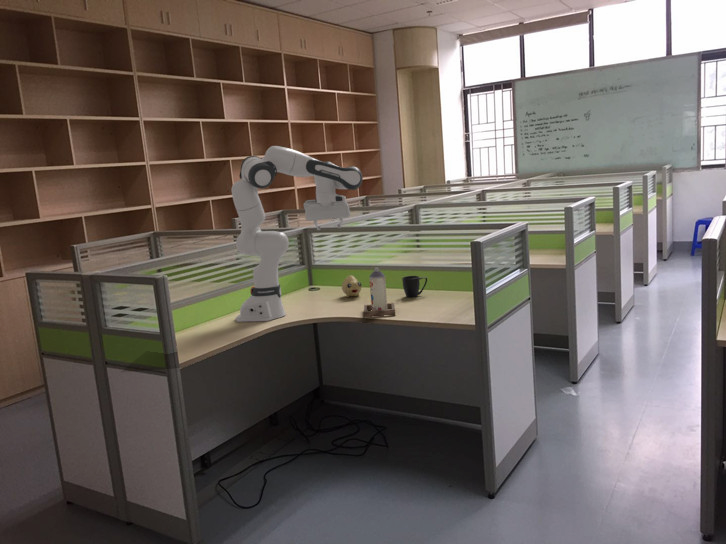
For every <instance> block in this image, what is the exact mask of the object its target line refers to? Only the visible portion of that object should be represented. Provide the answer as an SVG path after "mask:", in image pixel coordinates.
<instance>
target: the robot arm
mask: <svg viewBox="0 0 726 544" xmlns="http://www.w3.org/2000/svg"><path fill="white" fill-rule="evenodd" d="M278 173H280V174H284V175H287V176H291V177H296V178H297V177H298V178H307V177H314V184H315V199H307V200H305V201H304V202H303V209H304V210H305V213H304V215H305V217H304V218H305V220H306V221H308V222H309V221H312V222H313V224H314V225H315V227H316V231H321V226H320V225H318V221H321V220H323V221H325V220H335V219H339V221H340V222H339V223H338V224H337V229H342V223H343V222H344V219H345V218H346V219H347V218H349V217H351V211H350V206H349V204H348V202H347V200H346V199H347V197H346V196H345V195H342V194H338V193H336V189H337V190H350V191H355V190H357V189H359V188H360V187H361V185H362V184H363V174H362V171H361V169H359V168H358V167H356V166H349V167H342V166H339V165H336V164H334V163H333V162H331V161H321V160H319V159H317V158H314V157H313V156H310V155H308V154H305V153H303V152H301V151H300V150H299V151H298V150H296V149H292V148H289V147H284V146H279V145H271V146H270V147H269V148H268V149H267V150H266V151H265V153H264V156H263V157H261V158H260V156H257V155H250V156H247V157H245V158H244V159H243V160H242V162H241V165H240V170H239V180H237V181H235V182H234V183H233V184H232V186H231V196H232V200H233V204H234V207H235V210H236V213H237V215H238V218H239V222H240V225H241V226H240V227H241V231H240V234H239V235H238V236H237V239H236V241H235V245H236V249H237V251H238V252H239V254H241V255H244V256H248V257H249V256H250V257H255V256H257V257H258V256H260V262H259V264H258V265H255V267H254V269H253V272H252V275H253V276H252V277H253V285H252V286H251V287H250V296H249V297H248V298H247V299H246V300H245V301H244V302H243V303H242V304H241V306H240V308H239V309H240V310H239V311H240V312H239V314H237V316H236V317H235V321H236V322H237V323H238V322H239V323H240V322H241V323H245V322H246V323H247V322H249V323H250V322H269V321H272V320H275V319H276V320H277V319H279V318H282V317H284V316H286V311H285V308H284V305H283V301H282V288H281V284H280V280H279V265H280V264H279V263H280V260H281V259H282V257H283V255H284V254H285V253H286V252H287V251H288V249H289V246H290V241H289V240H290V239H289V238H288V236H287V235H286V233H284V232H282V231H276V230H262V229H261V225H263V223H264V222H265V220H266V213H265V210H264V207H263V204H262V201H261V199H260V196H259V191H258V189H265V188H268V187H269V186H271V184H272V183H273V181H274V179H275V178H276V176H277V174H278Z"/></svg>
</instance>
